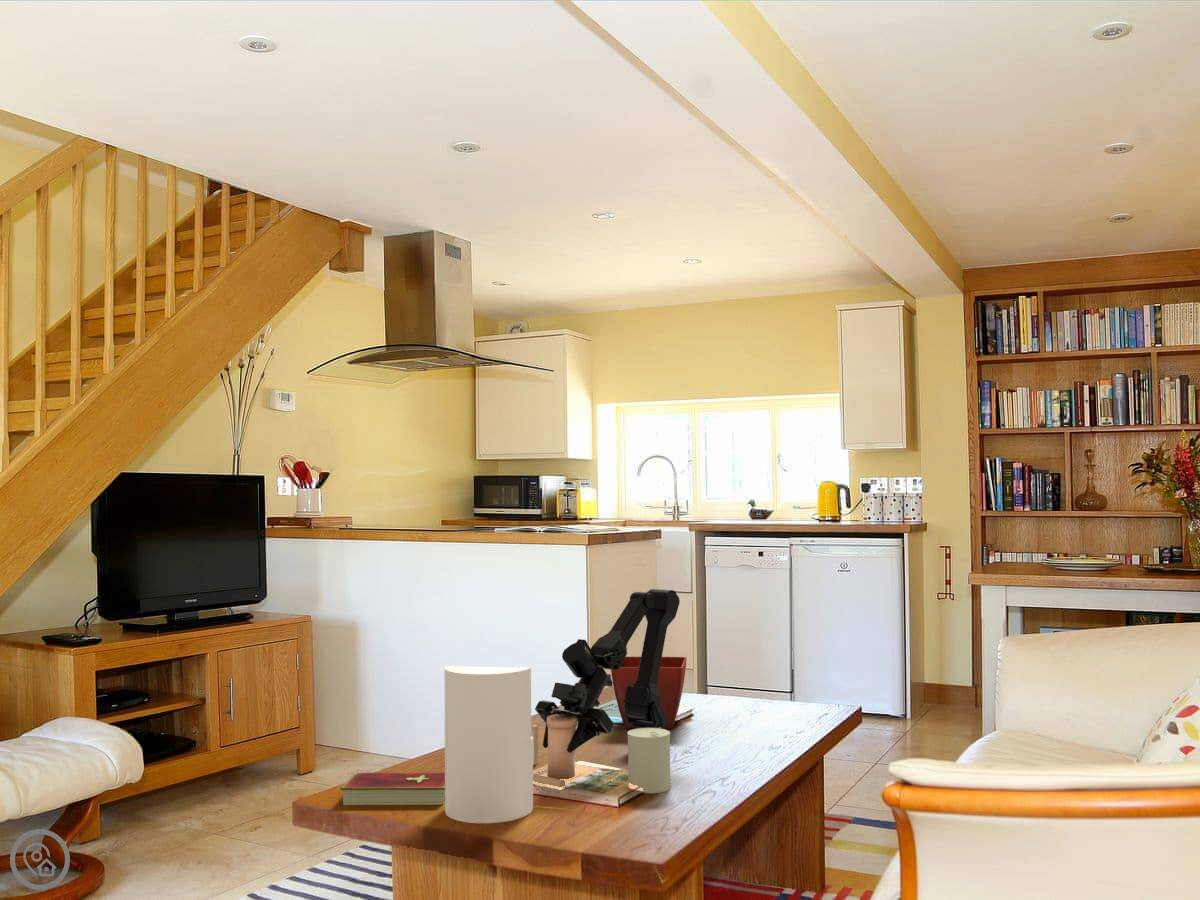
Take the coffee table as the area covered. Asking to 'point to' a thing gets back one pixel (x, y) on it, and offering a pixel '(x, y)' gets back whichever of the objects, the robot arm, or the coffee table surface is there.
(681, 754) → the coffee table surface
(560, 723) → the tan tall round cup
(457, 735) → the cylinder
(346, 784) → the hardcover book
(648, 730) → the can
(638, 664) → the plant pot
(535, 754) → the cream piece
